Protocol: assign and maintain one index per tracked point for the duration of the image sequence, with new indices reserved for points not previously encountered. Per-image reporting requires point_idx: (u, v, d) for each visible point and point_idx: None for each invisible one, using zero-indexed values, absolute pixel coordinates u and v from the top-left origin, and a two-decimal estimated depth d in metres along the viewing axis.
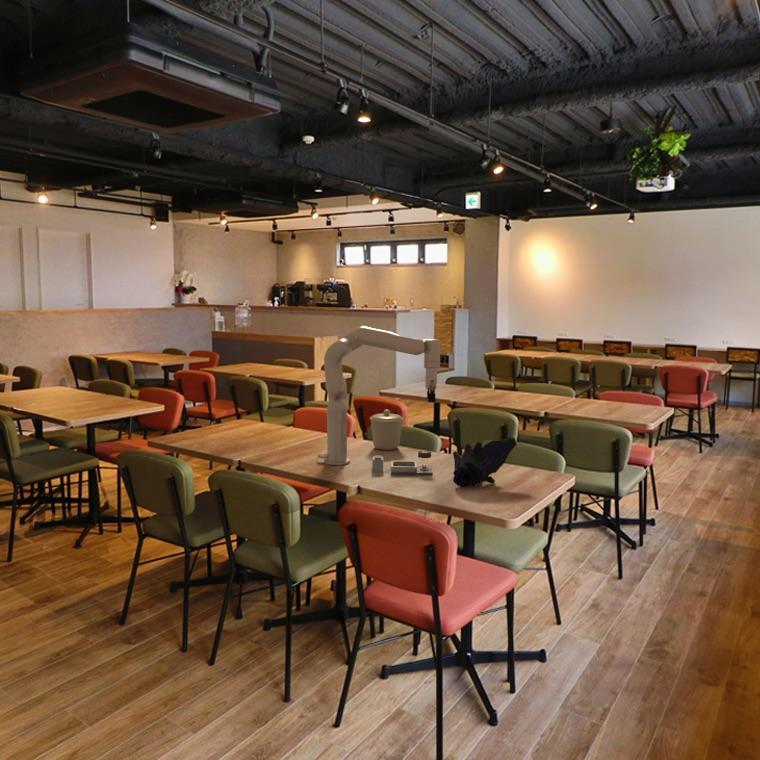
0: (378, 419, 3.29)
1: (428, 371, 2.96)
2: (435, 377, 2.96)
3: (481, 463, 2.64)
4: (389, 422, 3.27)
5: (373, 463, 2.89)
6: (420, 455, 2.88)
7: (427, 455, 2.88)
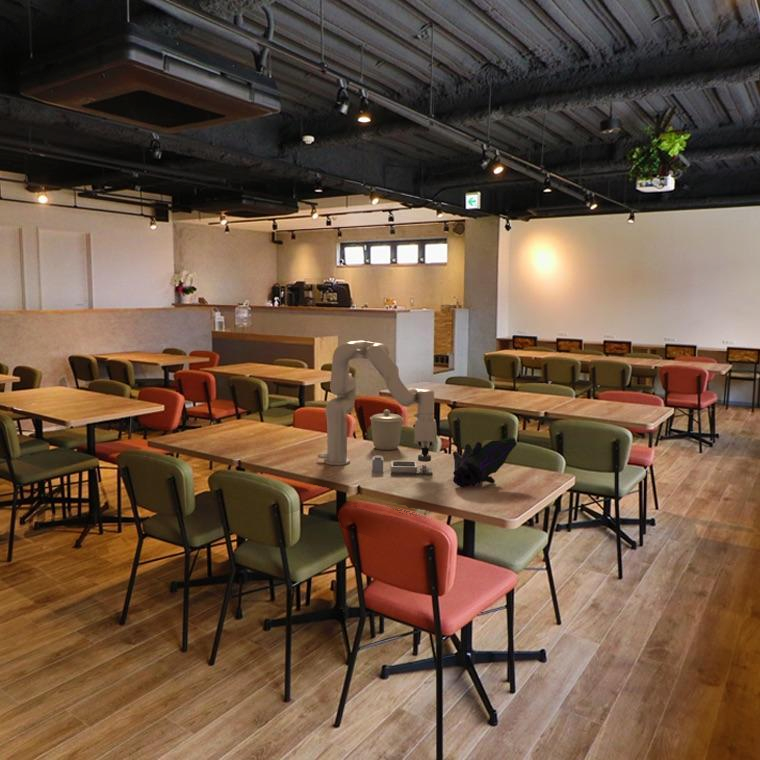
0: (378, 419, 3.29)
1: (435, 423, 2.87)
2: None
3: (481, 463, 2.64)
4: (389, 422, 3.27)
5: (373, 463, 2.89)
6: (420, 459, 2.89)
7: (427, 459, 2.88)
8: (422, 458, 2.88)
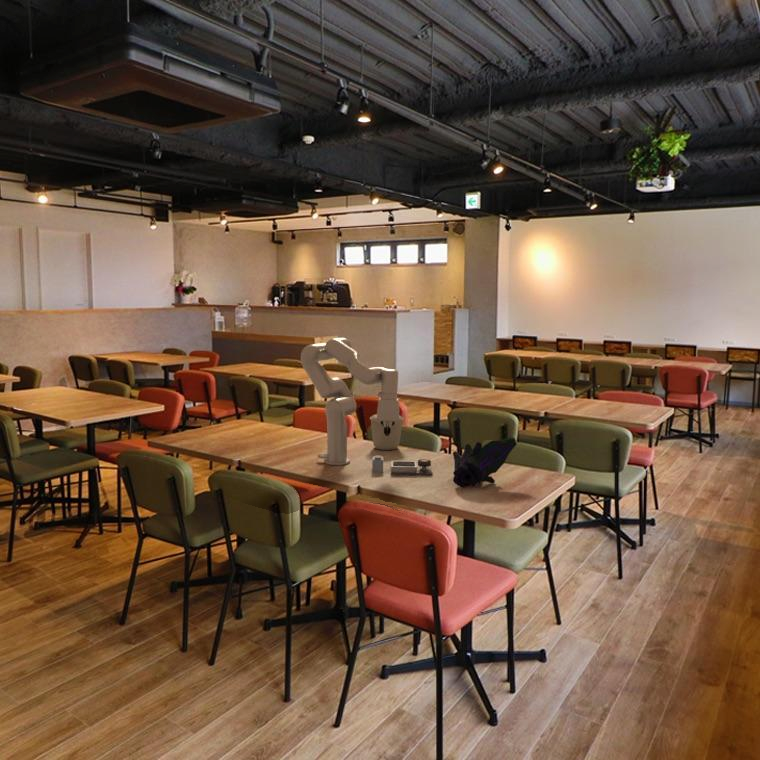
0: None
1: (398, 403, 2.87)
2: None
3: (481, 463, 2.64)
4: None
5: (373, 463, 2.89)
6: (420, 464, 2.89)
7: (427, 464, 2.88)
8: (422, 463, 2.88)
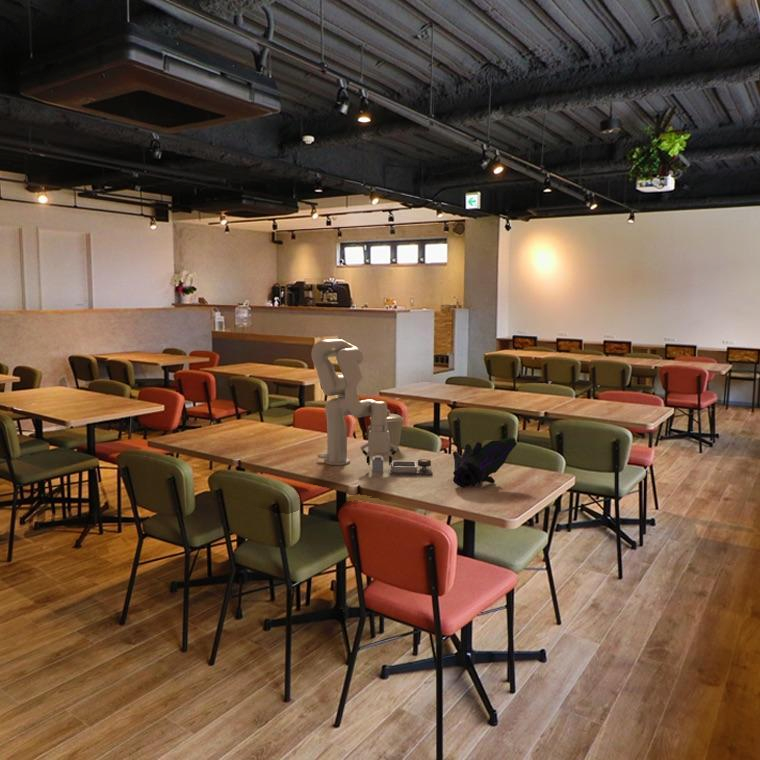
0: None
1: (388, 434, 2.88)
2: None
3: (481, 463, 2.64)
4: (389, 422, 3.27)
5: (373, 463, 2.89)
6: (420, 464, 2.89)
7: (427, 464, 2.88)
8: (422, 463, 2.88)
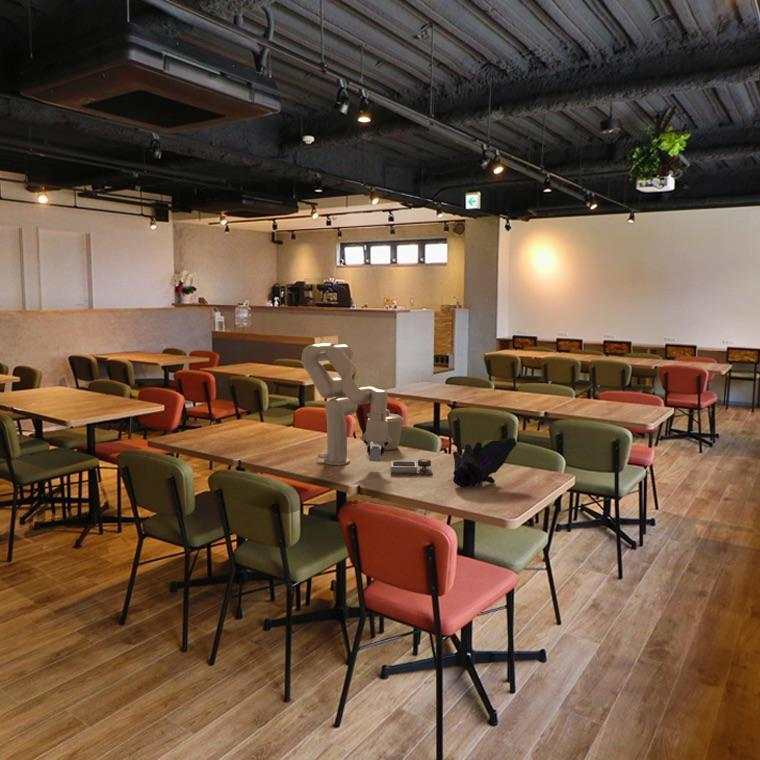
0: None
1: (386, 423, 2.88)
2: None
3: (481, 463, 2.64)
4: (389, 422, 3.27)
5: (371, 452, 2.90)
6: (420, 464, 2.89)
7: (427, 464, 2.88)
8: (422, 463, 2.88)
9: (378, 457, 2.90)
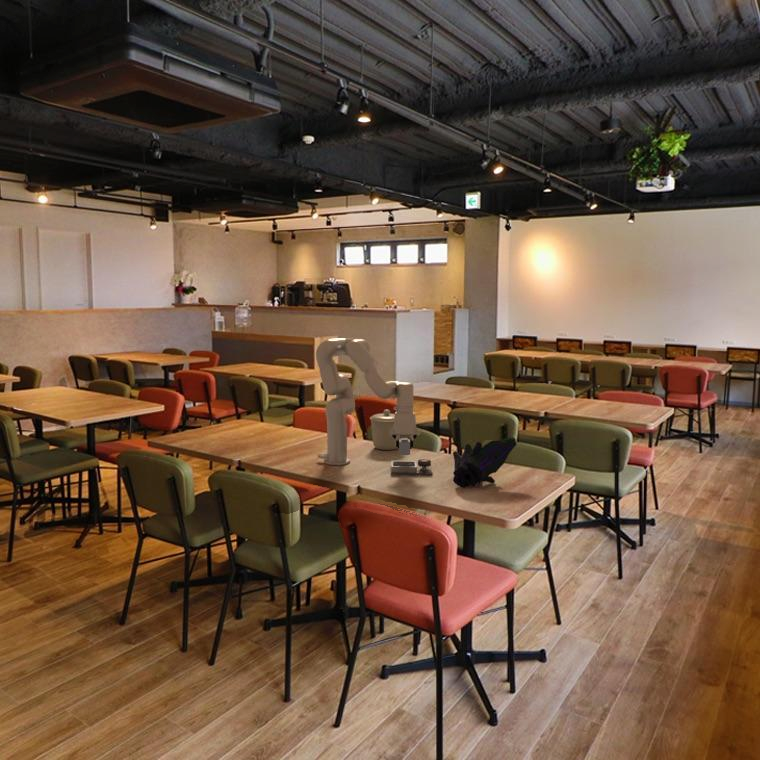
0: (378, 419, 3.29)
1: (414, 416, 2.86)
2: None
3: (481, 463, 2.64)
4: (389, 422, 3.27)
5: (400, 445, 2.87)
6: (420, 464, 2.89)
7: (427, 464, 2.88)
8: (422, 463, 2.88)
9: (408, 450, 2.87)
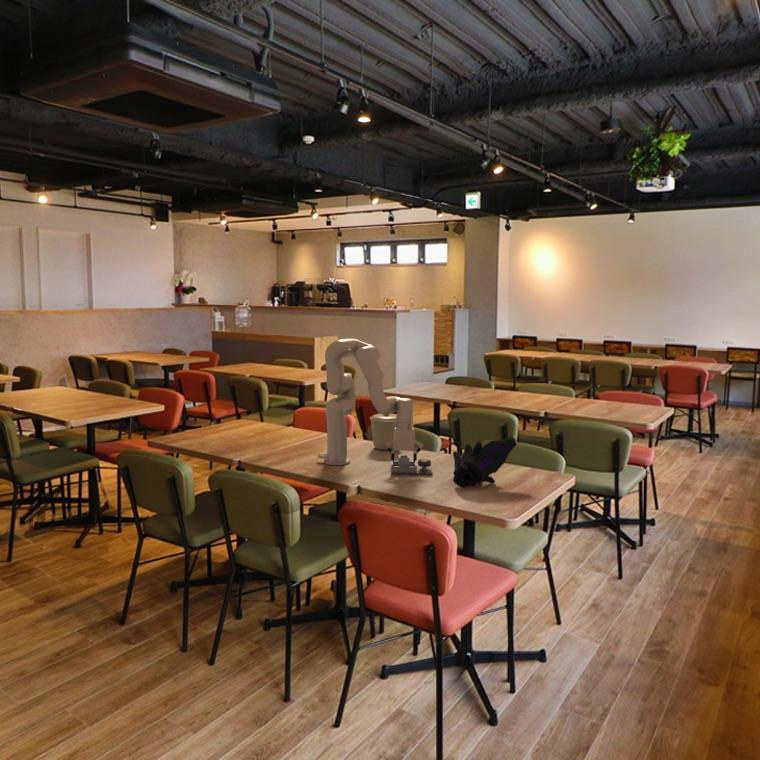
0: (378, 419, 3.29)
1: (414, 432, 2.87)
2: None
3: (481, 463, 2.64)
4: (389, 422, 3.27)
5: (399, 461, 2.88)
6: (420, 464, 2.89)
7: (427, 464, 2.88)
8: (422, 463, 2.88)
9: None
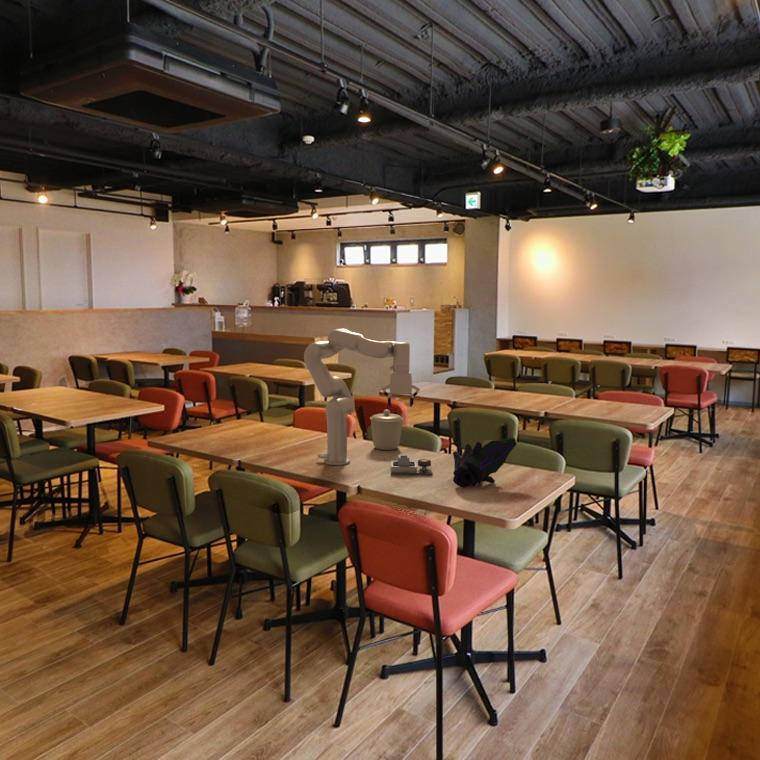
0: (378, 419, 3.29)
1: (410, 375, 2.86)
2: None
3: (481, 463, 2.64)
4: (389, 422, 3.27)
5: (399, 461, 2.88)
6: (420, 464, 2.89)
7: (427, 464, 2.88)
8: (422, 463, 2.88)
9: None
